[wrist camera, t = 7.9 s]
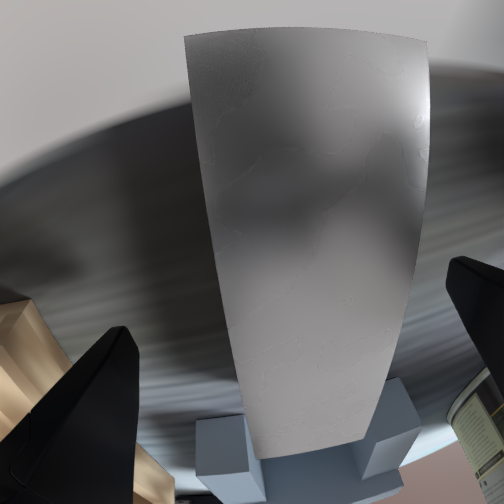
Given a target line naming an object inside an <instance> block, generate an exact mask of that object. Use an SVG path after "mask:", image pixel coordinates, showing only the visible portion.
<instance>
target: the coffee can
mask: <svg viewBox="0 0 504 504" xmlns="http://www.w3.org/2000/svg"><path fill="white" fill-rule="evenodd" d="M447 420H448V422H449V424H450V425H451V426H452V428H453V430H454V432H455V434H456V436H457V438H458V440H459V442H460V444H461V446H462V448H463V450H464V452H465V454H466V456H467V459H468V460H469V463H470V465H471V467H472V469H473V471H474V474H475V475H476V478H477V480H478V482H479V484H480V487H481V489H482V492H483V494H484V496H485V499H486V501H487V504H504V400H503V398H502V396H501V394H500V392H499V390H498V388H497V386H496V384H495V382H494V380H493V378H492V376H491V374H490V372H489V370H488V368H487V366H486V367H485V368H484V369H483V370H482V371H481V372H480V373H479V374H478V375H477V376H476V377H475V378H474V379H473V380H472V381H471V382H470V383H469V384H468V385H467V386H466V388H465V389H464V390H463V391H462V392H461V393H460V395H459V396H458V397H457V398H456V400H455V401H454V403H453V404H452V406H451V408H450V410H449V412H448V415H447Z"/></svg>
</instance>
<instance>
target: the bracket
mask: <svg viewBox="0 0 504 504" xmlns="http://www.w3.org/2000/svg"><path fill="white" fill-rule="evenodd" d="M422 427H423V423H422V421H421V419H420V417H419V415H418V413H417V411H416V409H415V407H414V405H413V403H412V401H411V399H410V397H409V395H408V393H407V391H406V389H405V387H404V385H403V383H402V381H401V379H400V378H399V377H396V378H393V379H390V380H387V381H385V383H384V386H383V389H382V392H381V395H380V398H379V400H378V403H377V406H376V409H375V411H374V414H373V416H372V419H371V421H370V424H369V427H368V429H367V431H366V434H365V436H364V439H361V440H357V441H353V442H349V443H345V444H341V445H337V446H333V447H328V448H324V449H319V450H314V451H309V452H304V453H299V454H293V455H287V456H281V457H274V458H266V459H258V460H256V459H255V455H254V451H253V446H252V442H251V438H250V433H249V429H248V425H247V422H246V420H245V417H244V414H243V415H236V416H229V417H221V418H213V419H204V420H196V477H197V478H198V479H199V480H200V481H201V482H202V483H203V484H204V485H205V486H206V487H207V488H208V489H209V490H210V491H211V492H212V493H213V494H214V495H215V496H216V497H217V498H218V499H219V500H220V501H222V502H223V503H224V504H369V503H371V502H375V501H378V500H380V499H383V498H386V497H389V496H392V495H394V494H397V493H398V492H399V491H400V489H401V488H402V487H403V486H404V484H403V482H402V479H401V476H400V473H399V471H398V468H399V466H400V464H401V463H402V461H403V460H404V458H405V456H406V455H407V453H408V451H409V450H410V448H411V446H412V445H413V443H414V441H415V439H416V438H417V436H418V434H419V432H420V430H421V429H422Z"/></svg>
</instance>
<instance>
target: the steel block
mask: <svg viewBox="0 0 504 504" xmlns="http://www.w3.org/2000/svg"><path fill="white" fill-rule="evenodd" d="M184 42H185V50H186V59H187V69H188V78H189V86H190V95H191V103H192V110H193V118H194V126H195V133H196V141H197V148H198V155H199V162H200V169H201V176H202V182H203V189H204V195H205V202H206V208H207V215H208V221H209V227H210V233H211V239H212V245H213V251H214V257H215V263H216V268H217V274H218V280H219V285H220V291H221V296H222V302H223V307H224V312H225V318H226V323H227V328H228V333H229V339H230V344H231V349H232V354H233V359H234V364H235V368H236V373H237V378H238V383H239V388H240V392H241V397H242V402H243V406H244V411H245V415H246V420H247V424H248V429H249V433H250V438H251V442H252V446H253V451H254V455H255V459H256V460H258V459H266V458H274V457H281V456H287V455H293V454H299V453H304V452H309V451H314V450H319V449H324V448H328V447H333V446H337V445H341V444H345V443H349V442H353V441H357V440H361V439H364V436H365V434H366V431H367V429H368V427H369V424H370V421H371V419H372V416H373V414H374V411H375V409H376V406H377V403H378V400H379V398H380V395H381V392H382V389H383V386H384V383H385V380H386V377H387V374H388V371H389V368H390V365H391V362H392V358H393V355H394V352H395V348H396V345H397V341H398V338H399V334H400V330H401V327H402V323H403V319H404V315H405V311H406V307H407V303H408V298H409V294H410V289H411V285H412V280H413V275H414V270H415V264H416V259H417V253H418V247H419V241H420V235H421V228H422V221H423V213H424V205H425V196H426V185H427V174H428V159H429V138H430V87H429V66H428V54H427V53H428V52H427V42H426V41H423V40H418V39H413V38H407V37H402V36H395V35H389V34H383V33H375V32H367V31H358V30H346V29H332V28H309V27H308V28H307V27H276V28H253V29H239V30H229V31H218V32H210V33H203V34H196V35H189V36H184Z"/></svg>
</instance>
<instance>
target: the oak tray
mask: <svg viewBox="0 0 504 504" xmlns="http://www.w3.org/2000/svg"><path fill="white" fill-rule="evenodd" d="M72 366H73V365H72V363H71V362H70V360H69V359H68V357H67V356H66V355H65V353H64V352H63V350H62V349H61V347H60V346H59V344H58V343H57V341H56V340H55V338H54V336H53V335H52V333H51V332H50V330H49V329H48V327H47V325H46V324H45V322H44V320H43V319H42V317H41V315H40V314H39V312H38V310H37V308H36V307H35V305H34V303H33V301H32V300H31V299H29V300H24V301H18V302H13V303H7V304H2V305H0V441H1V440H2V439H3V438H4V437H5V436H6V435H8V434H9V433H10V431H11V430H12V429H13V428H14V427H15V426H16V425H17V424H18V423H19V422H20V421H21V420H22V419H23V418H24V417H25V415H26V414H27V413H28V412H30V410H31V409H32V408H33V407H34V406H35V405H36V404H37V403H38V401H39V400H40V399H41V398H42V397H43V396H44V395H45V394H46V393H47V392H48V391H49V390H50V389H51V388H52V387H53V386H54V385H55V384H56V382H57V381H58V380H59V379H60V378H61V377H62V376H63V375H64V374H65V373H66V372H67V371H68V370H69V369H70V368H71V367H72ZM174 490H175V479H174V478H173V477H172V476H171V475H170V474H169V473H168V472H167V471H166V470H164V469H163V468H162V467H161V466H160V465H159V464H158V463H157V462H156V461H155V460H154V459H153V458H152V457H151V456H150V455H149V454H148V453H147V452H146V451H145V450H144V449H143V448H142V447H141V446H140V445H139V444H138V443H137V442H136V450H135V466H134V489H133V504H174Z"/></svg>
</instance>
